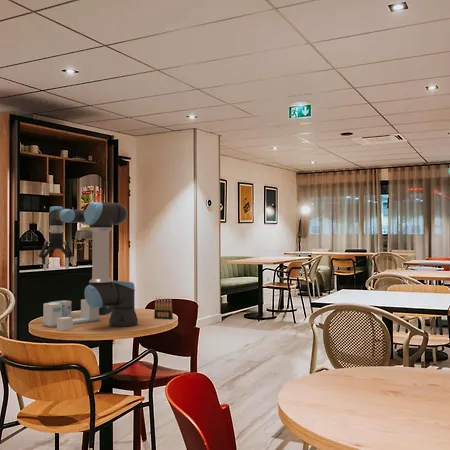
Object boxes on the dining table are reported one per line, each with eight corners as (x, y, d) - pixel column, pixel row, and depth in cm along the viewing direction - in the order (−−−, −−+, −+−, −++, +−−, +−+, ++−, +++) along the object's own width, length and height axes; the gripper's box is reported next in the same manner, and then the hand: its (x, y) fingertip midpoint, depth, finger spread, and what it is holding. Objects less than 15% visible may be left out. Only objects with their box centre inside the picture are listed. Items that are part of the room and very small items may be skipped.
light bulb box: (55, 322, 281) (55, 302, 281) (48, 321, 285) (48, 301, 286) (72, 320, 290) (72, 300, 290) (64, 318, 294) (64, 300, 294)
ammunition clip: (154, 318, 293) (154, 297, 293) (155, 318, 295) (155, 297, 295) (171, 319, 290) (171, 298, 290) (172, 318, 292) (172, 297, 292)
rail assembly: (99, 321, 285) (99, 300, 285) (51, 327, 265) (51, 305, 265) (90, 319, 292) (90, 298, 292) (42, 325, 272) (43, 303, 272)
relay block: (72, 329, 260) (72, 317, 260) (63, 331, 255) (63, 319, 256) (66, 328, 263) (66, 316, 263) (56, 330, 258) (56, 318, 258)
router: (113, 310, 324) (113, 279, 325) (103, 315, 306) (103, 281, 307) (101, 310, 325) (101, 279, 326) (90, 315, 307) (90, 281, 308)
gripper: (72, 233, 311) (72, 268, 311) (32, 232, 294) (32, 270, 293) (78, 232, 306) (78, 268, 305) (38, 232, 288) (38, 270, 288)
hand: (56, 269), depth 299 cm, fingers open, 13 cm apart
